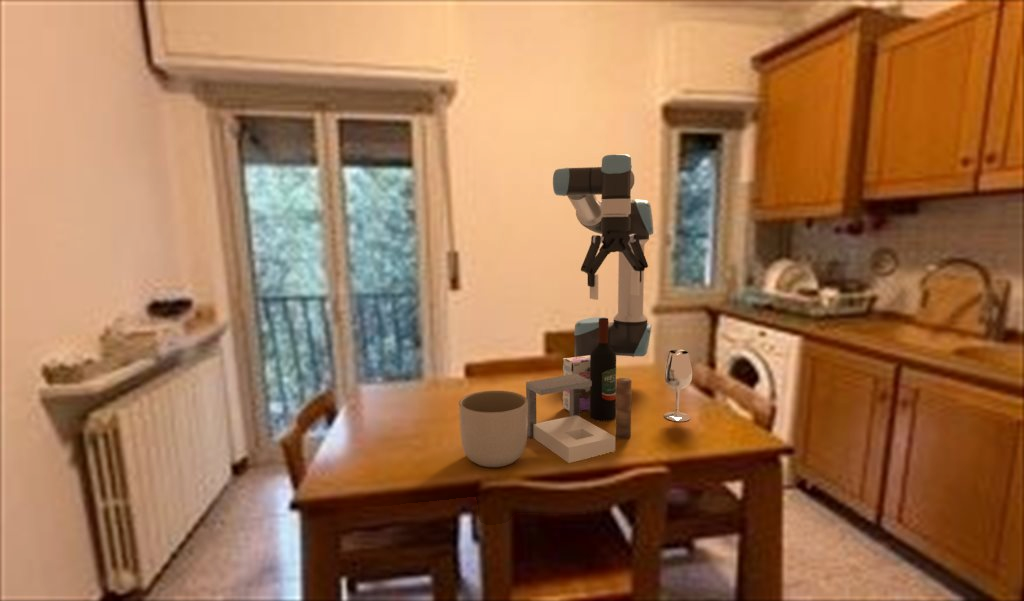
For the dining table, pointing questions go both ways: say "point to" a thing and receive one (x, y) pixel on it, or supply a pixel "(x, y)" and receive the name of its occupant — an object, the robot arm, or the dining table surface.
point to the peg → (623, 408)
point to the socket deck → (573, 438)
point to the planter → (493, 427)
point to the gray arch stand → (554, 386)
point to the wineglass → (678, 379)
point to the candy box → (583, 369)
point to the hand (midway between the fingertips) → (614, 297)
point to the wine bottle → (603, 377)
